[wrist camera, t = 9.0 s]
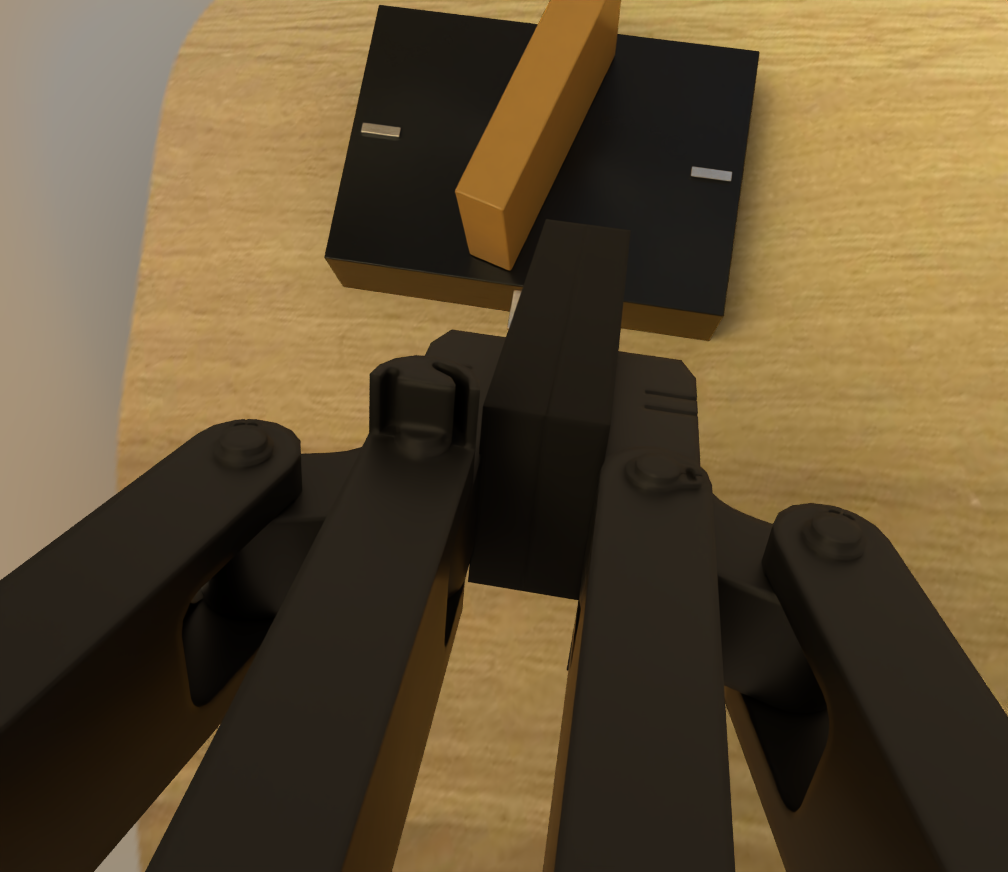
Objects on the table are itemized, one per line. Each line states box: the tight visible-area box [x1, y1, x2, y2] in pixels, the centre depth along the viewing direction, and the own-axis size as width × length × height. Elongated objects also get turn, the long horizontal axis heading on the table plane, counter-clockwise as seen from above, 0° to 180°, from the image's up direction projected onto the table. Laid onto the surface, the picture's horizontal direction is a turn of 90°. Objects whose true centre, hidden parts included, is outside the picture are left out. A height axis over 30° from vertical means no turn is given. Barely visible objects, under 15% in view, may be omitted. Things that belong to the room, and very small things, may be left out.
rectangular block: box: [455, 0, 621, 270], centre depth 30 cm, size 9×2×5 cm, turn 155°
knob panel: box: [325, 5, 759, 341], centre depth 34 cm, size 14×13×3 cm
